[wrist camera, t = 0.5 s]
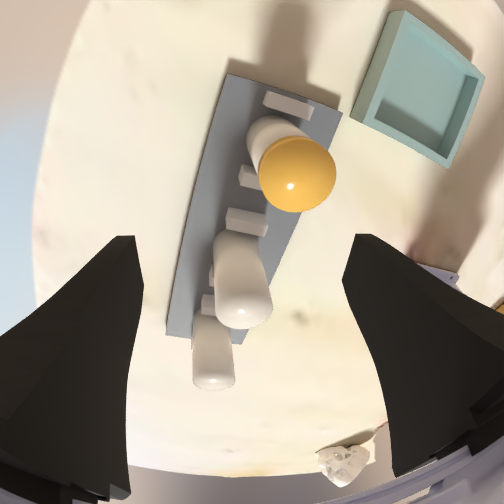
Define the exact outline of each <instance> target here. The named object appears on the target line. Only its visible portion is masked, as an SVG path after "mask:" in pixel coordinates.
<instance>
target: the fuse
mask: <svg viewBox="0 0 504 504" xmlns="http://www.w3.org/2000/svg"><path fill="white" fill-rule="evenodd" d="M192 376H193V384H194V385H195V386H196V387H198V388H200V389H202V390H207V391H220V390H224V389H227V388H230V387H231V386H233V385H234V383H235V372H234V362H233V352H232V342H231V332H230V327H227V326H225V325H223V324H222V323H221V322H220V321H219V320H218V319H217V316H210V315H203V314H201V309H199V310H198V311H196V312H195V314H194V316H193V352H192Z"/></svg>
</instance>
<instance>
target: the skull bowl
mask: <svg viewBox="0 0 504 504" xmlns="http://www.w3.org/2000/svg"><path fill="white" fill-rule="evenodd" d="M334 453H335V454H338V455H337V456H335V454H334ZM315 456H316V457H317V458H318V462H319V463H318V465H319V466H320V467H323V469H322V472H323V474H325V475H326V476H327V477H328V478H329V480H330V481H332V482H333V483H334V484H336V485H337V486H339V487H343V486H346V485H348V484H349V483H351V482H352V481H353V480H354V479H355V478H356V477H357V476H358V475H359V473H360V472H361V470H362V469H363V468H364V466H365V465H366V463H367V461H368V459H369V457H370V452H369V451H368V450H367V449H366V448H364V447H362V446H360V445H353V446H351V447H348V448H346V449H345V448H344V447H343V446H335V447H329V448H325V449H322V450H320V451H319V452H317V453H315ZM330 470H331V471H330ZM345 471H346V472H345Z"/></svg>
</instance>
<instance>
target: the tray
mask: <svg viewBox="0 0 504 504" xmlns="http://www.w3.org/2000/svg"><path fill="white" fill-rule="evenodd" d="M484 79H485V76H484V75H483V74H482V73H481V72H480V71H479V70H478V69H477V68H476V67H475V66H474V65H473V64H472V63H471V62H470V61H469V60H468V59H466V58H465V57H464V56H463V55H462V54H461V53H460V52H459V51H458V50H457V49H455V48H454V47H453V46H452V45H451V44H450V43H448V42H447V41H446V40H445V39H444V38H442V37H441V36H440V35H439V34H437V33H436V32H435V31H434V30H432V29H431V28H430V27H428V26H427V25H426V24H424V23H423V22H422V21H420V20H419V19H417V18H416V17H415V16H413V15H412V14H410V13H409V12H407V11H406V10H400V11H393V12H389V15H388V18H387V20H386V23H385V26H384V29H383V32H382V34H381V37H380V40H379V42H378V45H377V48H376V51H375V53H374V56H373V59H372V61H371V64H370V67H369V69H368V72H367V74H366V77H365V80H364V82H363V85H362V87H361V90H360V92H359V95H358V97H357V100H356V102H355V105H354V107H353V110H352V112H351V115H350V118H352V119H354V120H356V121H358V122H360V123H362V124H365V125H367V126H369V127H371V128H373V129H375V130H377V131H379V132H381V133H383V134H385V135H387V136H389V137H391V138H393V139H395V140H397V141H399V142H401V143H403V144H405V145H407V146H408V147H410V148H412V149H414V150H416V151H418V152H419V153H421V154H423V155H425V156H426V157H428V158H430V159H431V160H433V161H435V162H436V163H438V164H440V165H441V166H443V167H445V168H446V169H449V167H450V165H451V163H452V161H453V159H454V157H455V154H456V152H457V150H458V148H459V145H460V143H461V141H462V138H463V136H464V134H465V131H466V129H467V126H468V124H469V121H470V119H471V116H472V114H473V111H474V108H475V105H476V103H477V100H478V97H479V94H480V91H481V88H482V85H483V82H484Z"/></svg>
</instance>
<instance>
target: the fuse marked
mask: <svg viewBox="0 0 504 504" xmlns="http://www.w3.org/2000/svg"><path fill="white" fill-rule="evenodd" d="M246 146H247V149H248V152H249V154H250V157H251V159H252V162H253V164H254V167H255V170H256V172H257V175H258V180H259V183H260V186H261V189H262V191H263V193H264V195H265V197H266V198H267V200H268V201H269V202H270V203H271V204H272V205H273V206H275V207H277V208H278V209H281V210H283V211H287V212H303V211H307V210H310V209H312V208H314V207H316V206H318V205H319V204H321V203H322V202H323V201H324V200H325V199H326V198H327V197H328V196H329V194H330V193H331V191H332V189H333V187H334V184H335V180H336V167H335V163H334V160H333V158H332V157H331V155H330V154H329V152H328V151H327V150H326V149H325V148H323V147H322V146H321V145H320V144H319V143H317V142H316V141H315V140H313V139H311V138H310V137H309V136H307V135H306V134H305V133H304V132H302V131H301V130H300V129H299V128H297V127H296V126H295V125H294V124H292V123H291V122H290V121H289V120H287V119H286V118H284V117H282V116H278V115H266V116H263V117H260V118H259V119H257V120H256V121H254V122H253V123H252V124H251V126H250V127H249V129H248V131H247V134H246Z"/></svg>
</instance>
